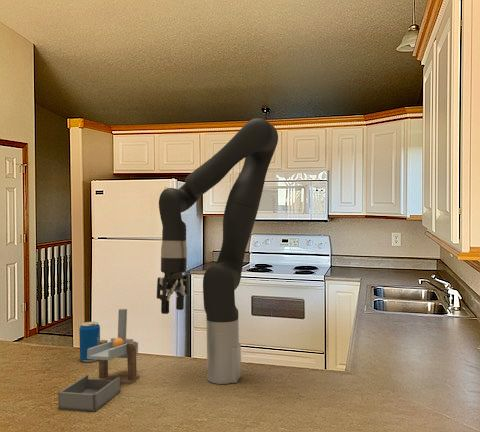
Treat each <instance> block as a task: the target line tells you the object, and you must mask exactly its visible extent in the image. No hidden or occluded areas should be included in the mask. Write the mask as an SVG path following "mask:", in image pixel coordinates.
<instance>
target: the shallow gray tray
mask: <svg viewBox="0 0 480 432" xmlns="http://www.w3.org/2000/svg"><path fill="white" fill-rule="evenodd" d="M120 393H121V383H120V377H117V378H116V379H114V380H100V379H98V378H89V374H86V375H84V376H82V377H81V378H79V379H78V380H75V381H74V382H73V383H71V384H69V385H67V386H66V387H65V388H63V389H62V390H60V391H58V392H57V394H58V395H57V399H58V400H57V401H58V404H57V405H58V406H57V407H58V410H70V411H80V412H83V411H84V412H94V413H95V412H97V411H98V410H99V409H101V408H102V407H103V406H104V405H106V404H107V403H108V402H109V401H111V400H112V399H113V398H115V397H116V396H117V395H118V394H120Z"/></svg>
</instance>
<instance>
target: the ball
mask: <svg viewBox="0 0 480 432" xmlns="http://www.w3.org/2000/svg"><path fill="white" fill-rule="evenodd" d="M121 345H124V341H123V339H122V338H118V337H116V339H115V340H114V341H113V347H114V348H116V347H118V346H121Z"/></svg>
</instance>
